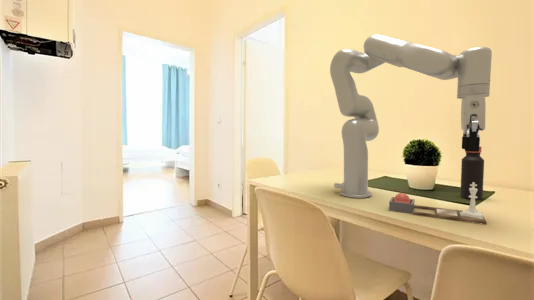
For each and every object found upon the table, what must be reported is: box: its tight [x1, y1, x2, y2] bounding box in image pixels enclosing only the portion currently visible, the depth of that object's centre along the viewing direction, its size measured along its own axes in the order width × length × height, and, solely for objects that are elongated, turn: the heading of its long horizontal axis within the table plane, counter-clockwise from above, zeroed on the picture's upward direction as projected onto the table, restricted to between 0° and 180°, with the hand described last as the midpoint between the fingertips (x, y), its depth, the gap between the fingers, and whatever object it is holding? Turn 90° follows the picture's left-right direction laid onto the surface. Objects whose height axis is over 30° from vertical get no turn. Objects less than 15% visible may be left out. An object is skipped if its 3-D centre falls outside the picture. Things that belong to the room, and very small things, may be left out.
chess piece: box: [462, 182, 484, 218], centre depth 78 cm, size 5×5×10 cm
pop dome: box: [394, 192, 411, 203], centre depth 88 cm, size 5×5×5 cm
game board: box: [412, 204, 487, 225], centre depth 82 cm, size 18×9×1 cm, turn 58°
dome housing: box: [388, 196, 416, 215], centre depth 88 cm, size 7×7×3 cm
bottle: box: [460, 146, 485, 201], centre depth 101 cm, size 7×7×20 cm
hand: (469, 150), depth 78 cm, fingers open, 9 cm apart
